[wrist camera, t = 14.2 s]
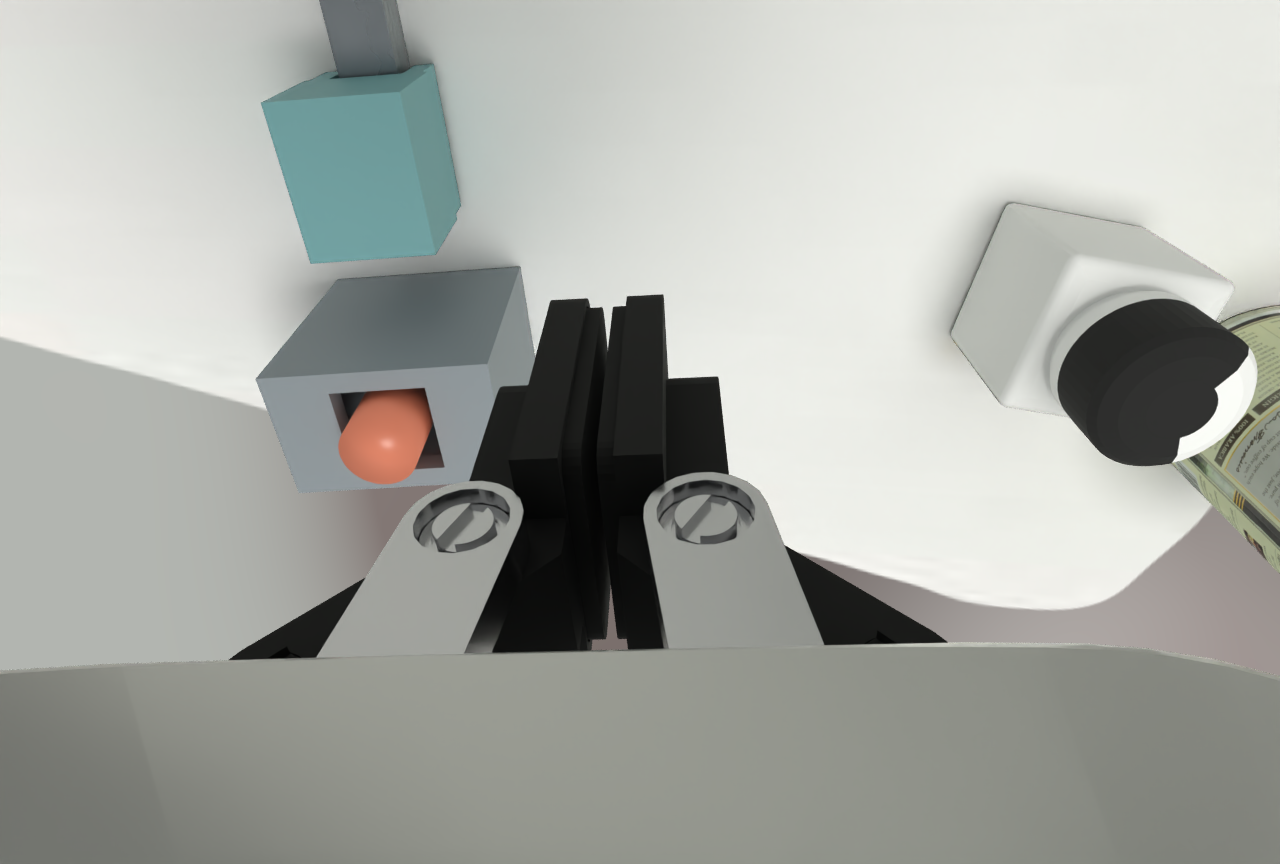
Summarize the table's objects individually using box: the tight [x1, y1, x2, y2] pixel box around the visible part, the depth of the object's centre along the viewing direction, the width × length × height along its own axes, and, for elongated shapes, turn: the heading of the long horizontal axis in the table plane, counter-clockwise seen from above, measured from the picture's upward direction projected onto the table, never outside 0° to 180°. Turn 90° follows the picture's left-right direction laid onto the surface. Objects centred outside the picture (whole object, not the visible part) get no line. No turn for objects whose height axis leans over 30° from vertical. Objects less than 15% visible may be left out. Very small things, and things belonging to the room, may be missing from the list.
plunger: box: [338, 388, 434, 484], centre depth 33 cm, size 3×3×5 cm
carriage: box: [261, 64, 461, 264], centre depth 33 cm, size 6×5×6 cm
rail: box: [319, 0, 410, 78], centre depth 32 cm, size 20×2×2 cm, turn 4°
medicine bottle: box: [951, 203, 1258, 466], centre depth 34 cm, size 7×7×12 cm
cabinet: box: [256, 267, 535, 493], centre depth 36 cm, size 6×9×10 cm, turn 94°
